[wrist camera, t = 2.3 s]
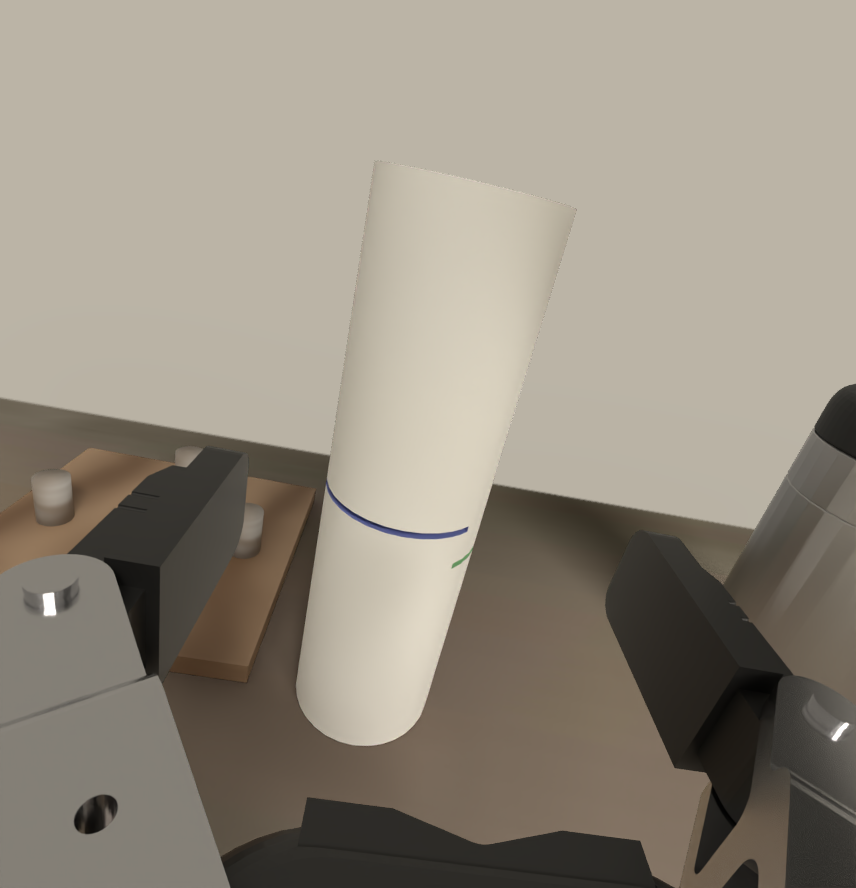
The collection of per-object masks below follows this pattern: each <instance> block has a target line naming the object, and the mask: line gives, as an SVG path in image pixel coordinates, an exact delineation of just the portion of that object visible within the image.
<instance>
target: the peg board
mask: <svg viewBox="0 0 856 888" xmlns="http://www.w3.org/2000/svg"><path fill="white" fill-rule="evenodd" d="M202 450H203V449H202V448H199V447H196V446H184V447H181V448H178V449H177V450H176V451H175V463H171V462H166V461H160V460H155V459H149V458H144V457H138V456H132V455H127V454H121V453H116V452H110V451H105V450H99V449H94V448H88V449H87V450H86V451H84V452H83V453H82V454H80V455H79V456H77V457H76V458H75V459H73V460H72V461H71V462H69V463H68V464H67V465H65V466H64V467H63V468H61V469H47V470H43V471H39V472H37V473H35V474H34V475H33V476H32V477H31V484H32V490H31V491H30V492H29V493H27V494H26V495H25V496H23V497H22V498H20V499H19V500H18V501H16V502H15V503H14V504H12V505H11V506H10V507H8V508H7V509H5V510H4V511H3V512H1V513H0V574H2V573H3V572H5V571H7V570H8V569H10V568H12V567H14V566H16V565H19V564H21V563H24V562H27V561H30V560H33V559H36V558H41V557H45V556H51V555H61V554H67V553H68V552H69V551H70V550H71V549H73V548H74V547H75V546H76V545H77V544H78V543H79V542H80V541H81V540H82V539H83V538H84V537H85V536H86V535H87V534H88V533H89V532H90V531H91V530H92V529H93V528H94V527H95V526H96V525H97V524H98V523H99V522H100V521H102V520H103V519H104V518H105V517H106V516H107V515H108V514H109V513H110V512H111V511H112V510H113V509H114V508H117V507H118V504H119V503H120V502H121V501H122V500H123V499H124V498H125V497H126V496H127V495H128V494H129V495H131V493H132V491H133V490H134V489H135V488H136V487H137V486H138V485H139V484H140V483H141V482H142V481H143V480H144V479H145V478H146V477H147V476H149V475H151V474H153V473H155V472H158V471H160V470H162V469H165V468H167V467H169V466H171V465H175V466H181V467H187V466H188V465H189V464H190V463H191V462H192V461H193V460H194V459H195V458H196V457H197V455H198V454H199V453H200V452H201V451H202ZM315 492H316V489H314V488H309V487H303V486H298V485H292V484H287V483H281V482H276V481H270V480H265V479H259V478H254V477H248V479H247V490H246V501H245V512H244V522H243V528H242V533H241V536H240V540H239V543H238V546H237V548H236V551H235V553H234V554H233V556H232V558H231V560H230V562H229V564H228V565H227V567H226V569H225V571H224V573H223V574H222V576H221V578H220V580H219V582H218V583H217V585H216V587H215V589H214V591H213V592H212V594H211V596H210V598H209V600H208V602H207V603H206V605H205V607H204V609H203V611H202V612H201V614H200V616H199V618H198V620H197V621H196V623H195V625H194V627H193V629H192V631H191V632H190V634H189V636H188V638H187V640H186V641H185V643H184V645H183V647H182V649H181V650H180V652H179V654H178V656H177V658H176V659H175V661H174V663H173V665H172V667H171V669H170V670H169V672H176V673H183V674H190V675H197V676H204V677H211V678H218V679H225V680H231V681H238V682H245V683H247V680H248V677H249V675H250V672H251V669H252V667H253V664H254V661H255V659H256V656H257V653H258V650H259V648H260V645H261V642H262V640H263V637H264V634H265V632H266V629H267V626H268V624H269V621H270V618H271V616H272V613H273V610H274V608H275V605H276V602H277V599H278V597H279V594H280V591H281V589H282V586H283V583H284V581H285V578H286V575H287V573H288V570H289V567H290V565H291V562H292V559H293V556H294V554H295V551H296V548H297V546H298V543H299V540H300V538H301V535H302V532H303V530H304V527H305V524H306V522H307V519H308V516H309V514H310V511H311V508H312V505H313V503H314V499H315Z"/></svg>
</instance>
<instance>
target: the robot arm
mask: <svg viewBox="0 0 856 888" xmlns="http://www.w3.org/2000/svg"><path fill="white" fill-rule="evenodd" d="M248 468H249V457H248V454H247V453H243V452H238V451H233V450H228V449H223V448H217V447H212V446H206V447H205V448H204V449H203V450H202V451H201V452H200V453H199V454H198V455H197V457H196V458H195V459H194V460H193V461H192V462H191V463H190V464H189V465H188V466H187V467H181V466H175V465H171V466H169V467H167V468H165V469H162V470H160V471H158V472H155V473H153V474H151V475H149V476H147V477H146V478H145V479H144V480H143V481H142V482H141V483H140V484H139V485H138V486H137V487H136V488H135V489H134V490H133V491H132V493H131V495H129V494H128V495H127V496H126V497H125V498H124V499H123V500H122V501H121V502H120V503H119V504H118V507H117V508H114V509H113V510H112V511H111V512H110V513H109V514H108V515H107V516H106V517H105V518H104V519H103V520H102V521H100V522H99V523H98V524H97V525H96V526H95V527H94V528H93V529H92V530H91V531H90V532H89V533H88V534H87V535H86V536H85V537H84V538H83V539H82V540H81V541H80V542H79V543H78V544H77V545H76V546H75V547H74V548H73V549H71V550H70V551H69V552H68V553H67V554H61V555H51V556H45V557H41V558H36V559H33V560H30V561H27V562H24V563H21V564H19V565H16V566H14V567H12V568H10V569H8V570H7V571H5V572H3V573H2V574H0V888H674V887H672V886H670V885H669V884H667V883H665V882H663V881H661V880H660V879H658V878H656V877H654V876H652V874H651V871H650V868H649V865H648V863H647V860H646V857H645V854H644V851H643V848H642V845H641V842H640V841H636V840H629V839H621V838H613V837H606V836H598V835H591V834H583V833H575V832H568V831H558V832H553V833H548V834H543V835H537V836H532V837H527V838H521V839H516V840H511V841H506V842H500V843H495V844H489V845H481V844H476V843H473V842H471V841H468V840H466V839H463V838H461V837H459V836H456V835H454V834H452V833H449V832H447V831H445V830H442V829H440V828H438V827H435V826H433V825H431V824H428V823H426V822H423V821H421V820H419V819H416V818H414V817H412V816H409V815H407V814H405V813H402V812H400V811H398V810H395V809H392V808H385V807H377V806H369V805H362V804H354V803H346V802H339V801H331V800H324V799H316V798H308V797H307V802H306V806H305V811H304V816H303V821H302V826H301V827H299V828H294V829H288V830H283V831H279V832H276V833H272V834H269V835H266V836H263V837H260V838H257V839H255V840H253V841H250V842H248V843H246V844H244V845H241V846H239V847H237V848H235V849H233V850H232V851H230V852H228V853H227V854H225V855H223V856H222V857H220V855H219V852H218V849H217V846H216V843H215V840H214V837H213V834H212V831H211V828H210V825H209V822H208V819H207V816H206V813H205V810H204V807H203V804H202V801H201V798H200V795H199V792H198V789H197V786H196V783H195V780H194V777H193V775H192V772H191V769H190V766H189V763H188V760H187V757H186V754H185V751H184V748H183V745H182V742H181V739H180V736H179V733H178V730H177V727H176V724H175V721H174V718H173V715H172V712H171V709H170V706H169V703H168V700H167V697H166V694H165V691H164V688H163V686H162V683H163V681H164V679H165V678H166V676H167V674H168V672H169V670H170V669H171V667H172V665H173V663H174V661H175V659H176V658H177V656H178V654H179V652H180V650H181V649H182V647H183V645H184V643H185V641H186V640H187V638H188V636H189V634H190V632H191V631H192V629H193V627H194V625H195V623H196V621H197V620H198V618H199V616H200V614H201V612H202V611H203V609H204V607H205V605H206V603H207V602H208V600H209V598H210V596H211V594H212V592H213V591H214V589H215V587H216V585H217V583H218V582H219V580H220V578H221V576H222V574H223V573H224V571H225V569H226V567H227V565H228V564H229V562H230V560H231V558H232V556H233V554H234V553H235V551H236V548H237V546H238V543H239V540H240V536H241V533H242V528H243V522H244V512H245V501H246V490H247V479H248ZM605 606H606V614H607V618H608V620H609V622H610V625H611V627H612V629H613V631H614V634H615V636H616V638H617V640H618V642H619V645H620V647H621V649H622V651H623V654H624V656H625V658H626V660H627V663H628V665H629V667H630V669H631V672H632V674H633V676H634V678H635V680H636V683H637V685H638V687H639V689H640V692H641V694H642V696H643V698H644V701H645V703H646V705H647V707H648V709H649V712H650V714H651V716H652V718H653V721H654V723H655V725H656V727H657V730H658V732H659V734H660V736H661V738H662V741H663V743H664V745H665V747H666V750H667V752H668V754H669V756H670V759H671V761H672V763H673V765H674V767H675V768H678V769H685V770H692V771H699V772H705V773H707V775H708V777H709V779H710V782H709V783H708V785H707V786H706V788H705V789H704V790H703V792H702V794H701V797H700V801H699V805H698V809H697V814H696V818H695V822H694V826H693V831H692V835H691V839H690V843H689V848H688V852H687V856H686V861H685V865H684V869H683V873H682V878H681V882H680V886H679V888H856V384H853V385H849V386H846V387H844V388H842V389H841V390H839V391H838V392H837V393H836V394H835V395H834V396H833V397H832V398H831V400H830V401H829V403H828V404H827V406H826V407H825V409H824V411H823V412H822V414H821V416H820V418H819V419H818V421H817V423H816V425H815V428H814V429H813V430H812V431H811V433H810V435H809V436H808V438H807V440H806V442H805V444H804V445H803V447H802V449H801V450H800V452H799V454H798V456H797V457H796V459H795V461H794V462H793V464H792V466H791V468H790V469H789V471H788V474H787V475H786V477H785V478H784V480H783V482H782V484H781V485H780V487H779V489H778V490H777V492H776V494H775V496H774V497H773V499H772V501H771V503H770V504H769V506H768V508H767V510H766V511H765V513H764V515H763V516H762V518H761V520H760V522H759V523H758V525H757V527H756V528H755V530H754V532H753V534H752V535H751V537H750V539H749V541H748V542H747V544H746V546H745V547H744V549H743V551H742V553H741V554H740V556H739V558H738V560H737V561H736V563H735V565H734V566H733V568H732V570H731V572H730V573H729V575H728V577H727V579H726V580H725V582H724V584H723V585H722V584H721V583H720V582H719V581H718V580H717V579H715V578H714V577H713V576H712V575H710V574H709V573H708V572H707V571H706V570H704V569H703V568H702V567H701V566H700V565H699V563H698V562H697V561H696V559H695V558H694V557H693V556H692V554H691V553H690V552H689V550H688V549H687V548H686V547H685V545H684V544H683V543H682V541H681V540H680V539H679V538H677V537H675V536H670V535H665V534H660V533H654V532H649V531H644V530H639V531H637V532H636V533H635V534H634V535H633V536H632V537H631V539H630V541H629V543H628V546H627V548H626V550H625V552H624V554H623V557H622V559H621V561H620V563H619V565H618V567H617V570H616V572H615V574H614V576H613V578H612V581H611V583H610V585H609V587H608V590H607V594H606V603H605Z"/></svg>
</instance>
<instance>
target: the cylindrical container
mask: <svg viewBox="0 0 856 888" xmlns="http://www.w3.org/2000/svg"><path fill="white" fill-rule="evenodd" d="M576 211H577V209H576V208H573V207H571V206H568V205H565V204H562V203H559V202H555V201H551V200H548V199H545V198H541V197H538V196H534V195H530V194H527V193H523V192H519V191H515V190H511V189H507V188H503V187H499V186H495V185H491V184H487V183H483V182H479V181H474V180H470V179H466V178H462V177H458V176H453V175H449V174H444V173H440V172H435V171H430V170H426V169H421V168H416V167H411V166H406V165H401V164H396V163H390V162H383V161H375V162H374V169H373V175H372V182H371V188H370V195H369V201H368V208H367V215H366V221H365V228H364V235H363V241H362V248H361V255H360V261H359V268H358V274H357V281H356V287H355V294H354V301H353V307H352V315H351V321H350V327H349V334H348V340H347V347H346V354H345V361H344V368H343V374H342V381H341V387H340V394H339V401H338V407H337V414H336V421H335V428H334V434H333V441H332V447H331V454H330V461H329V468H328V474H327V481H326V488H325V494H324V501H323V507H322V514H321V521H320V527H319V534H318V540H317V547H316V554H315V560H314V567H313V573H312V580H311V587H310V593H309V600H308V607H307V613H306V620H305V627H304V633H303V640H302V647H301V654H300V660H299V667H298V674H297V680H296V693H297V698H298V702H299V705H300V707H301V709H302V711H303V713H304V715H305V716H306V718H307V719H308V720H309V721H310V722H311V723H312V725H313V726H314V727H315V728H317V729H318V730H319V731H321V732H322V733H323V734H325V735H326V736H328V737H330V738H332V739H335V740H337V741H339V742H342V743H346V744H350V745H357V746H372V745H379V744H384V743H387V742H389V741H392V740H395V739H397V738H398V737H400V736H402V735H403V734H405V733H406V732H407V731H408V730H409V729H410V728H412V727H413V726H414V724H415V723H416V722H417V720H418V719H419V717H420V716H421V713H422V711H423V708H424V706H425V702H426V699H427V696H428V693H429V689H430V686H431V683H432V680H433V676H434V673H435V670H436V667H437V663H438V660H439V657H440V654H441V650H442V647H443V644H444V640H445V637H446V634H447V631H448V627H449V624H450V621H451V618H452V614H453V611H454V608H455V605H456V601H457V598H458V595H459V591H460V588H461V585H462V582H463V578H464V575H465V572H466V569H467V565H468V562H469V559H470V556H471V552H472V549H473V546H474V543H475V539H476V536H477V533H478V529H479V526H480V523H481V520H482V516H483V513H484V510H485V507H486V503H487V500H488V497H489V494H490V490H491V487H492V484H493V481H494V477H495V474H496V471H497V468H498V464H499V461H500V458H501V454H502V451H503V448H504V445H505V442H506V438H507V435H508V432H509V429H510V425H511V422H512V419H513V416H514V412H515V409H516V405H517V403H518V399H519V396H520V393H521V390H522V386H523V383H524V380H525V377H526V373H527V370H528V367H529V363H530V360H531V357H532V354H533V351H534V347H535V344H536V341H537V338H538V334H539V331H540V328H541V324H542V321H543V318H544V315H545V312H546V308H547V305H548V302H549V298H550V295H551V292H552V289H553V285H554V282H555V279H556V276H557V273H558V269H559V266H560V263H561V260H562V256H563V253H564V250H565V247H566V243H567V240H568V236H569V234H570V230H571V227H572V224H573V220H574V217H575V214H576Z"/></svg>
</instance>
